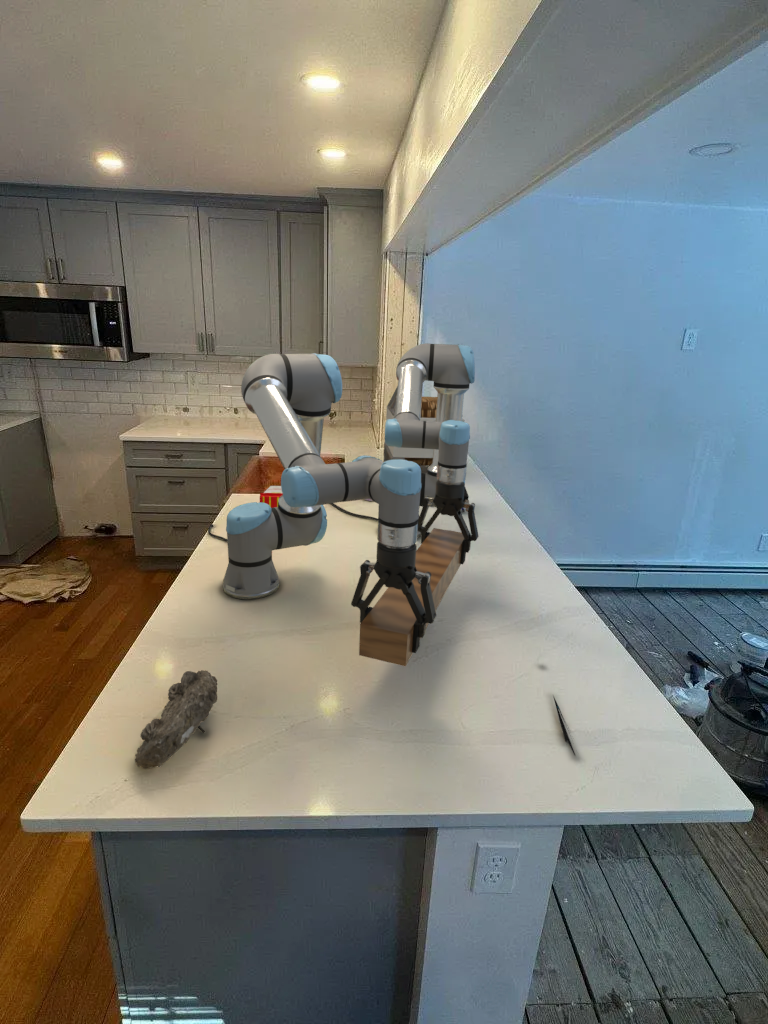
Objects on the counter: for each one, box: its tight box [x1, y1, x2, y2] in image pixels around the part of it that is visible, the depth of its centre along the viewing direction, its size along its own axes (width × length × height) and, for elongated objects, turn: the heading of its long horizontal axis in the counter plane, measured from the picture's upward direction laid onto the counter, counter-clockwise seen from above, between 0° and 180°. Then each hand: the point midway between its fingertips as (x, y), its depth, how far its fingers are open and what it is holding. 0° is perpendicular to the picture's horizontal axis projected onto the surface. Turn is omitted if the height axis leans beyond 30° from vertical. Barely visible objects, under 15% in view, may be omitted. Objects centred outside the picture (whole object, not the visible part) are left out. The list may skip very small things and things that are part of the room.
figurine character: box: [461, 487, 470, 513], centre depth 227 cm, size 7×8×15 cm
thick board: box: [358, 527, 464, 667], centre depth 134 cm, size 57×10×7 cm, turn 161°
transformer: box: [383, 385, 465, 467], centre depth 268 cm, size 34×33×41 cm
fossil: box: [134, 669, 218, 770], centre depth 103 cm, size 22×10×15 cm
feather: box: [552, 695, 579, 756], centre depth 115 cm, size 2×28×2 cm
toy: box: [259, 485, 283, 508], centre depth 208 cm, size 12×13×30 cm
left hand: (391, 643), depth 115 cm, fingers closed on thick board, 10 cm apart
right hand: (444, 558), depth 156 cm, fingers closed on thick board, 10 cm apart
